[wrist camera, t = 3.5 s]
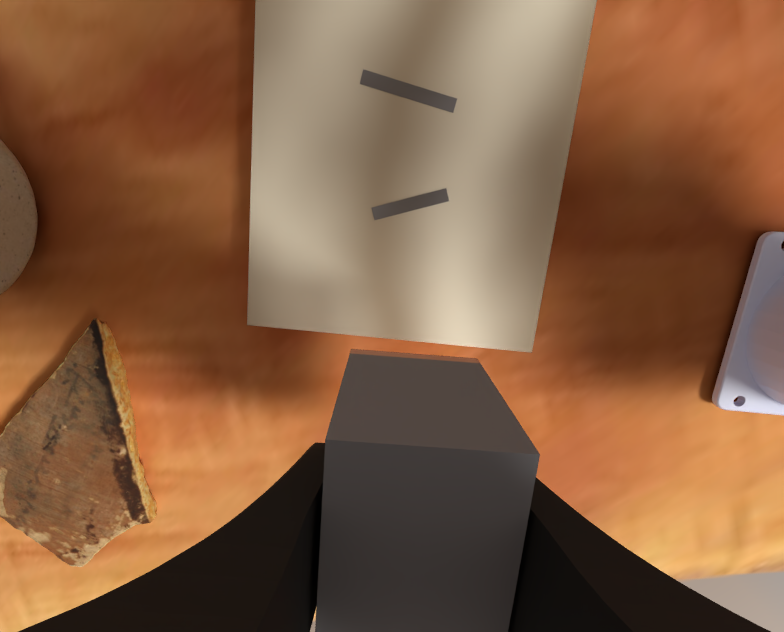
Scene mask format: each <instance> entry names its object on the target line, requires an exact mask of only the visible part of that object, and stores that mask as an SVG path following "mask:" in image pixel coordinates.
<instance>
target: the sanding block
mask: <svg viewBox="0 0 784 632" xmlns="http://www.w3.org/2000/svg"><path fill="white" fill-rule="evenodd" d="M539 457H540V454H539V453H538V451H537V449H536V448H535V446H534V445H533V443H532V442H531V440H530V439H529V437H528V436H527V434H526V433H525V431H524V430H523V428H522V426H521V425H520V423H519V422H518V420H517V419H516V417H515V416H514V414H513V413H512V411H511V410H510V408H509V407H508V405H507V404H506V402H505V400H504V399H503V397H502V396H501V394H500V393H499V391H498V390H497V388H496V387H495V385H494V384H493V382H492V381H491V379H490V377H489V376H488V374H487V373H486V371H485V370H484V368H483V367H482V365H481V364H480V362H479V361H478V359H476V358H463V357H450V356H436V355H423V354H410V353H397V352H384V351H371V350H358V349H351V351H350V355H349V358H348V362H347V365H346V369H345V372H344V376H343V379H342V383H341V386H340V390H339V394H338V397H337V401H336V404H335V408H334V411H333V415H332V418H331V422H330V425H329V429H328V432H327V436H326V439H325V456H324V475H323V494H322V513H321V532H320V551H319V570H318V589H317V608H316V627H315V628H316V629H315V632H508V629H509V623H510V617H511V612H512V606H513V601H514V595H515V590H516V584H517V579H518V573H519V567H520V562H521V556H522V551H523V545H524V540H525V534H526V529H527V523H528V518H529V512H530V506H531V501H532V495H533V490H534V484H535V479H536V473H537V468H538V462H539Z"/></svg>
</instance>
